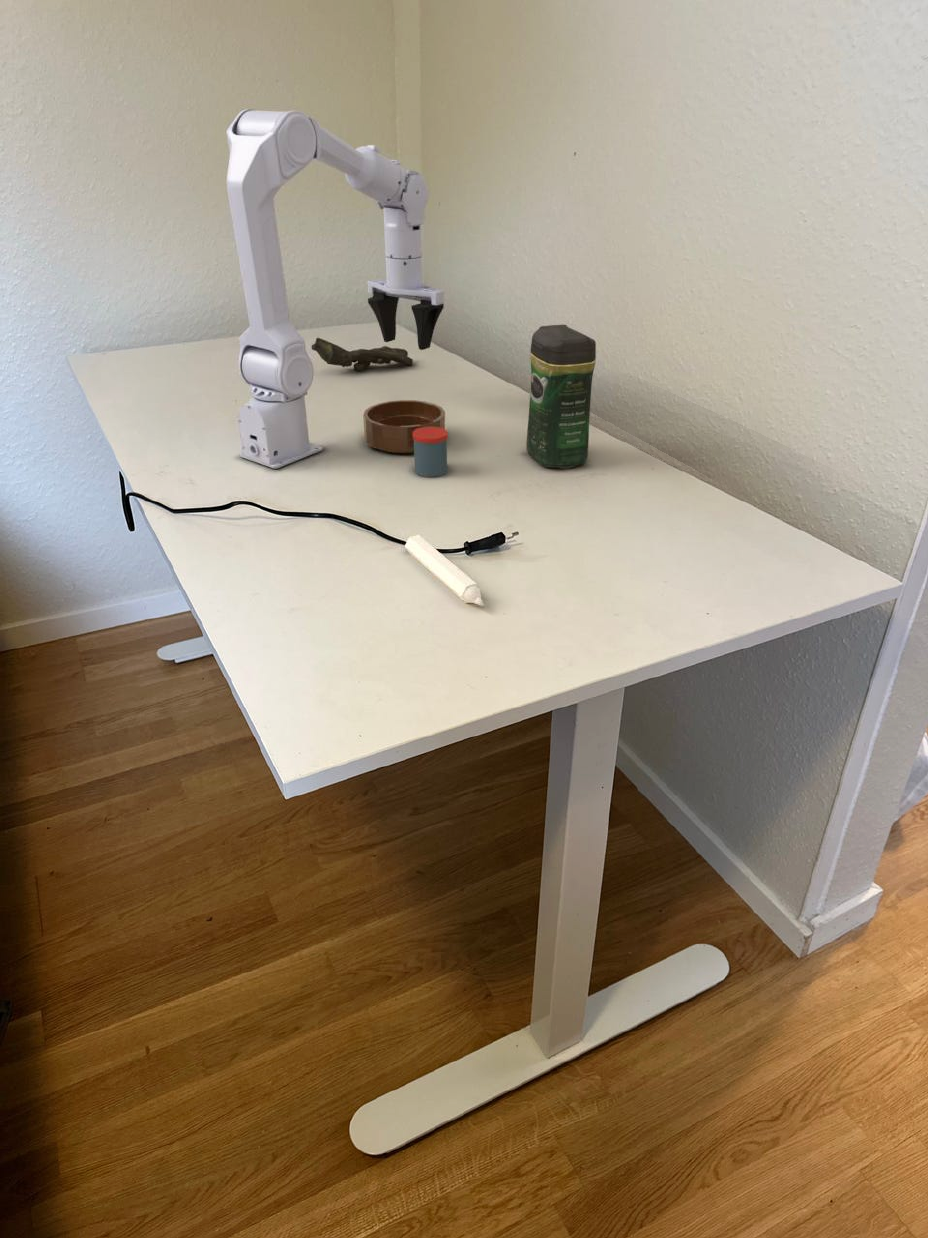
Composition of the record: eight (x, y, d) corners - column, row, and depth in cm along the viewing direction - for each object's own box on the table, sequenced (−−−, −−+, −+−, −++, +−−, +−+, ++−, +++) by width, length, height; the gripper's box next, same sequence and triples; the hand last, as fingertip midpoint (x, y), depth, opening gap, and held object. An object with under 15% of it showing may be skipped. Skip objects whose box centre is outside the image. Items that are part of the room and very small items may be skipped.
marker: (483, 620, 89) (411, 556, 101) (498, 607, 90) (425, 544, 101) (472, 605, 88) (401, 541, 99) (488, 591, 88) (415, 530, 99)
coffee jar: (595, 466, 123) (607, 334, 113) (544, 473, 120) (552, 339, 110) (566, 443, 130) (575, 318, 120) (518, 449, 128) (523, 322, 118)
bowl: (409, 462, 124) (408, 432, 121) (348, 443, 130) (346, 415, 128) (461, 438, 132) (461, 410, 130) (401, 422, 138) (400, 394, 136)
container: (433, 480, 118) (432, 441, 115) (406, 472, 121) (405, 433, 118) (455, 469, 122) (454, 431, 119) (428, 461, 124) (427, 423, 121)
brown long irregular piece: (402, 373, 170) (305, 366, 160) (405, 344, 168) (307, 335, 158) (416, 376, 164) (317, 369, 155) (418, 347, 163) (318, 338, 153)
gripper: (456, 257, 132) (456, 346, 139) (386, 247, 139) (390, 332, 147) (426, 264, 127) (428, 355, 135) (356, 253, 135) (361, 341, 142)
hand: (406, 344), depth 140 cm, fingers open, 7 cm apart
